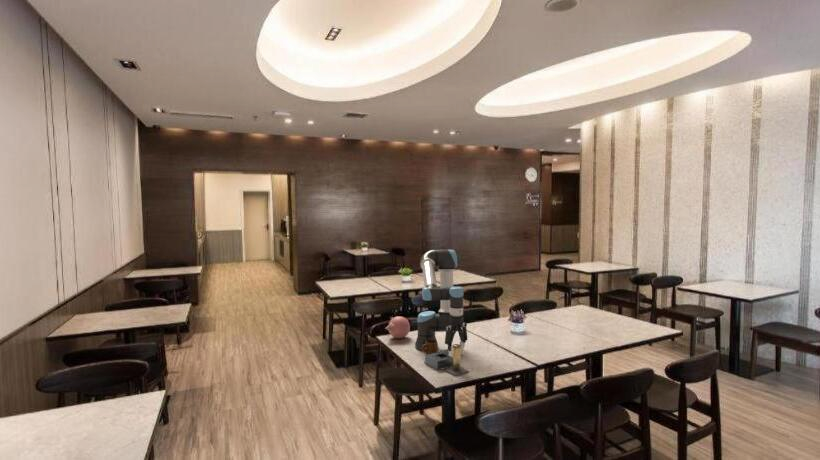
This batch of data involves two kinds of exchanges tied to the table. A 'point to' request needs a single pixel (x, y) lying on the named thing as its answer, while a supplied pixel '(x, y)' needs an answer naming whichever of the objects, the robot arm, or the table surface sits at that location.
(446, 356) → the housing
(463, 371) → the mat
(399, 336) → the balloon
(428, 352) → the mug
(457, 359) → the gold metal cylinder
